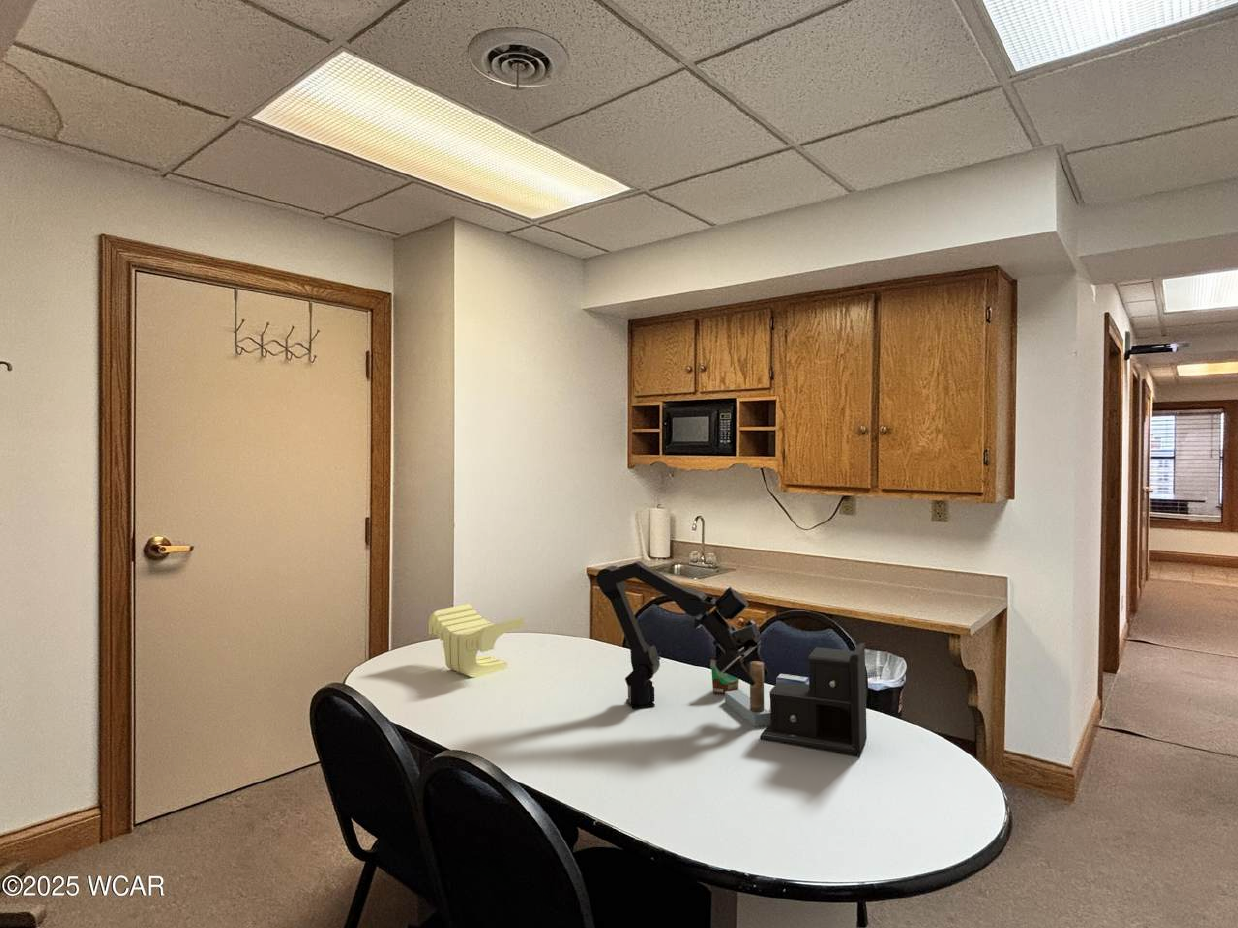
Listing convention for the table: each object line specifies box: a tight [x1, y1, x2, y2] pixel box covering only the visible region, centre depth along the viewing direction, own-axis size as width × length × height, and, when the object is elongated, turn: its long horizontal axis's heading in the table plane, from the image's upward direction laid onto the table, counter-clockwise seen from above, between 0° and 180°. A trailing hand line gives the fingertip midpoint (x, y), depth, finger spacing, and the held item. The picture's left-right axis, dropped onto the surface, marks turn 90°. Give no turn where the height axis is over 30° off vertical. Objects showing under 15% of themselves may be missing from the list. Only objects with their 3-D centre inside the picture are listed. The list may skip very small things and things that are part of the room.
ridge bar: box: [724, 689, 771, 728], centre depth 188 cm, size 4×18×3 cm, turn 16°
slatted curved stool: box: [428, 603, 525, 678], centre depth 229 cm, size 30×16×18 cm, turn 46°
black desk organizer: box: [759, 642, 868, 757], centre depth 170 cm, size 23×11×24 cm, turn 63°
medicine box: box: [775, 673, 809, 685], centre depth 191 cm, size 8×4×9 cm, turn 62°
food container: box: [709, 656, 741, 696], centre depth 205 cm, size 12×6×10 cm, turn 143°
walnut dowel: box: [749, 661, 765, 712], centre depth 182 cm, size 4×4×12 cm
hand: (760, 679), depth 182 cm, fingers open, 9 cm apart
